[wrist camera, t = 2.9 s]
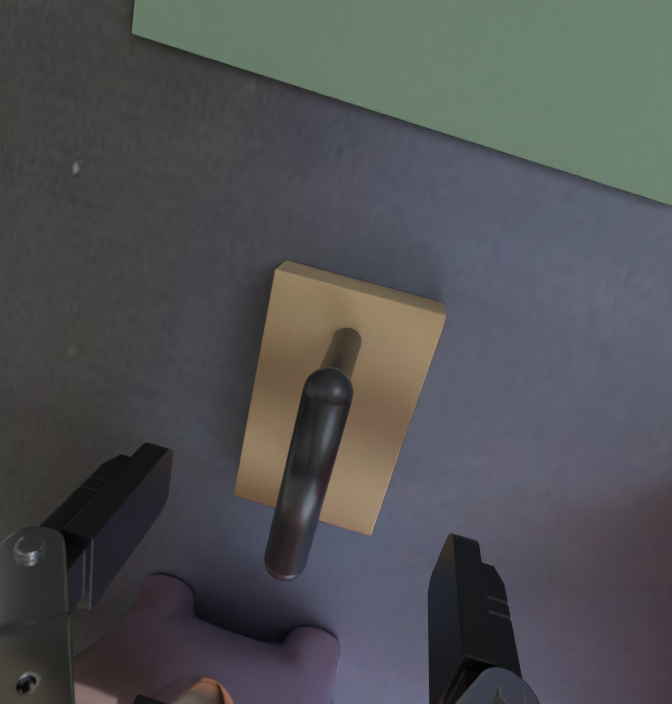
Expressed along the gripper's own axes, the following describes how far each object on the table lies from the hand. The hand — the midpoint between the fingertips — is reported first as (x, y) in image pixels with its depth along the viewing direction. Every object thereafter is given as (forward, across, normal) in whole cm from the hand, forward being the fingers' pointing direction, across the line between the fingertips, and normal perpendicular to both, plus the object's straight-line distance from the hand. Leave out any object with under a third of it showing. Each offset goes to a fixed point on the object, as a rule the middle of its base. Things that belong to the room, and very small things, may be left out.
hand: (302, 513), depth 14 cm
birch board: (+7, 0, 0) cm, 7 cm away
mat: (+7, 0, -14) cm, 16 cm away
